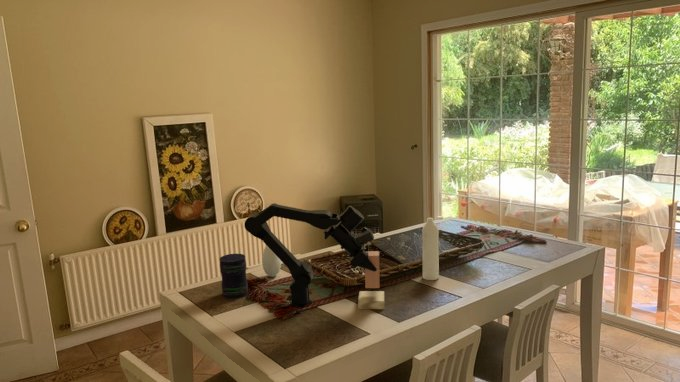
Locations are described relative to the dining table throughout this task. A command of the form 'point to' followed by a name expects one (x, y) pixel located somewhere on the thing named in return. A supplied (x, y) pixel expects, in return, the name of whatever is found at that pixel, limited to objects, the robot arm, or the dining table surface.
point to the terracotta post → (372, 276)
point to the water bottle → (430, 250)
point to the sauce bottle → (270, 262)
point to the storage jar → (233, 276)
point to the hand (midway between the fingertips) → (376, 268)
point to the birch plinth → (371, 300)
